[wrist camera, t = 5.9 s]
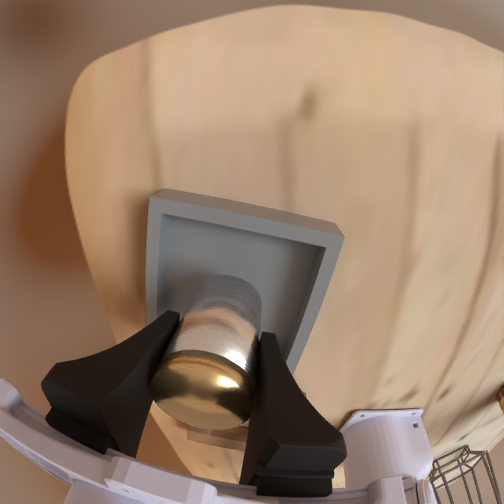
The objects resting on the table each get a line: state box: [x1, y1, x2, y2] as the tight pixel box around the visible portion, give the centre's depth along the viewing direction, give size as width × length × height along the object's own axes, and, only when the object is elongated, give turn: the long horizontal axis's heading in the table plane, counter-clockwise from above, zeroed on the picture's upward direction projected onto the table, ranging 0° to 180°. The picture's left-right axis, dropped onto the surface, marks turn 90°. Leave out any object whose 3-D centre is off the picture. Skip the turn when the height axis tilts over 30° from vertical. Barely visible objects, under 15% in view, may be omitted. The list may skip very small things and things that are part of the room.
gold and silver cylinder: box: [150, 275, 262, 430], centre depth 12 cm, size 4×4×7 cm
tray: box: [146, 189, 344, 375], centre depth 17 cm, size 11×11×2 cm
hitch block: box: [187, 393, 306, 451], centre depth 23 cm, size 10×10×2 cm
